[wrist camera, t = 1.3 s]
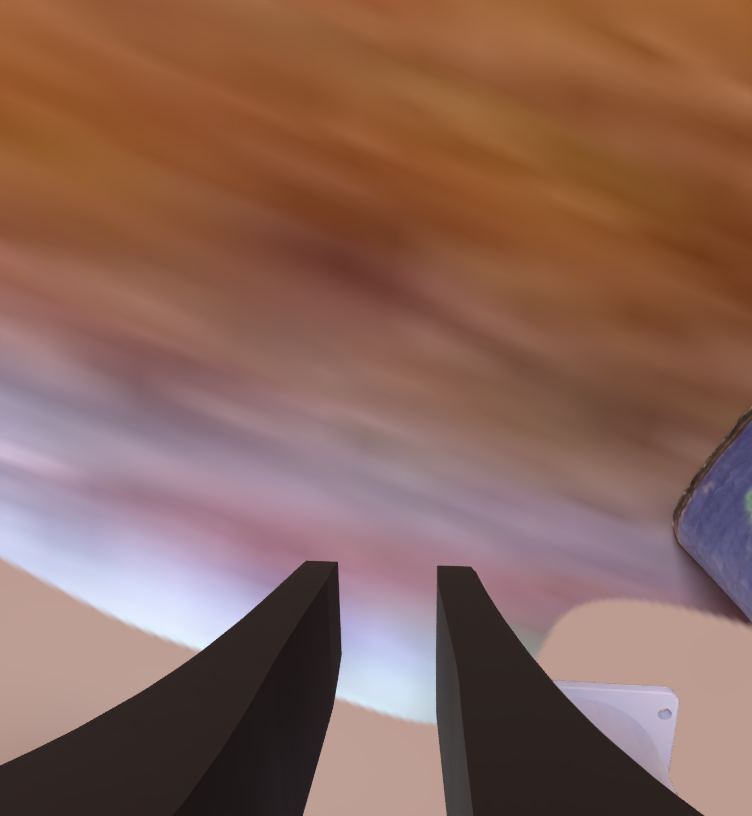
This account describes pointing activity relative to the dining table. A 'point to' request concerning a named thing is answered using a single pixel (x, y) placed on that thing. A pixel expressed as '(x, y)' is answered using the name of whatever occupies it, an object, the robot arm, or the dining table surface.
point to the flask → (722, 515)
